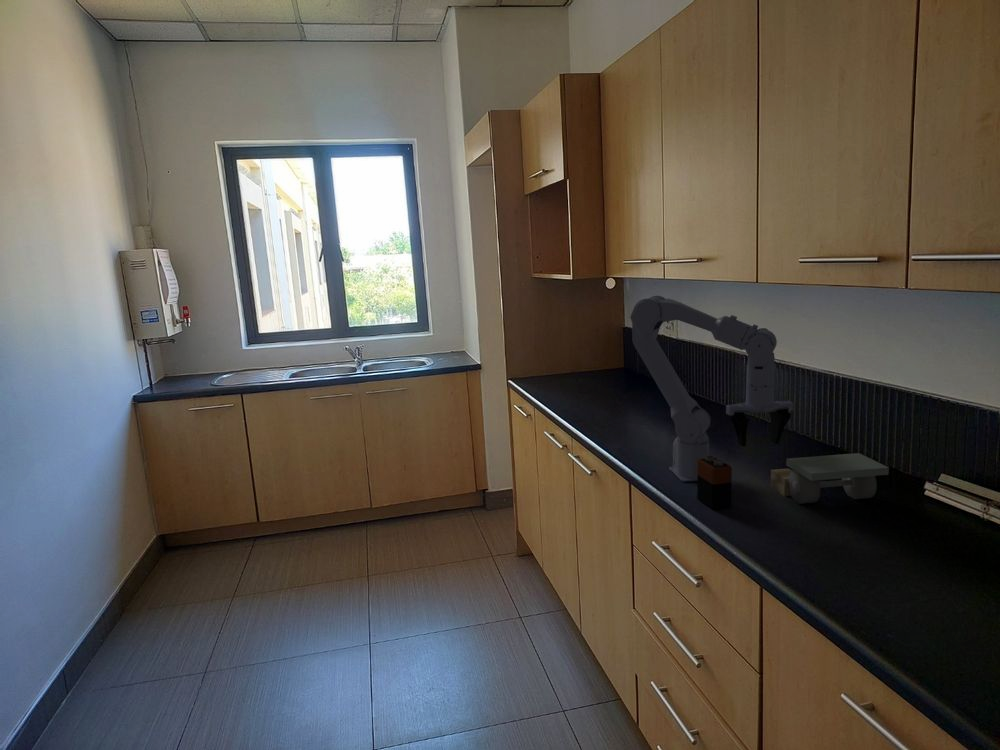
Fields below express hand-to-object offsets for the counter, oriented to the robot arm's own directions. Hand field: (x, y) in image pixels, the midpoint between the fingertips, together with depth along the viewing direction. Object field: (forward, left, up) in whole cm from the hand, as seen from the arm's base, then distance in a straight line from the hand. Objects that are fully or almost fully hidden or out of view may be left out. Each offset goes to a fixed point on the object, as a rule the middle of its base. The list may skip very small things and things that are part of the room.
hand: (758, 443), depth 144 cm
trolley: (+13, +10, -9) cm, 19 cm away
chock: (+5, +4, -10) cm, 12 cm away
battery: (+9, -14, -10) cm, 19 cm away
